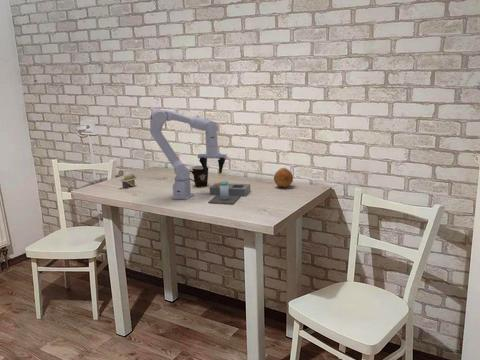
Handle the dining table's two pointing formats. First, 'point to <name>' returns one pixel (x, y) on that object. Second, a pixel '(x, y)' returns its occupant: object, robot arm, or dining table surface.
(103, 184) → the dining table surface
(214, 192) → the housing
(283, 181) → the onion
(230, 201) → the mat
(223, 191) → the cylinder
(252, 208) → the dining table surface
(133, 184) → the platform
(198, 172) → the coffee mug
